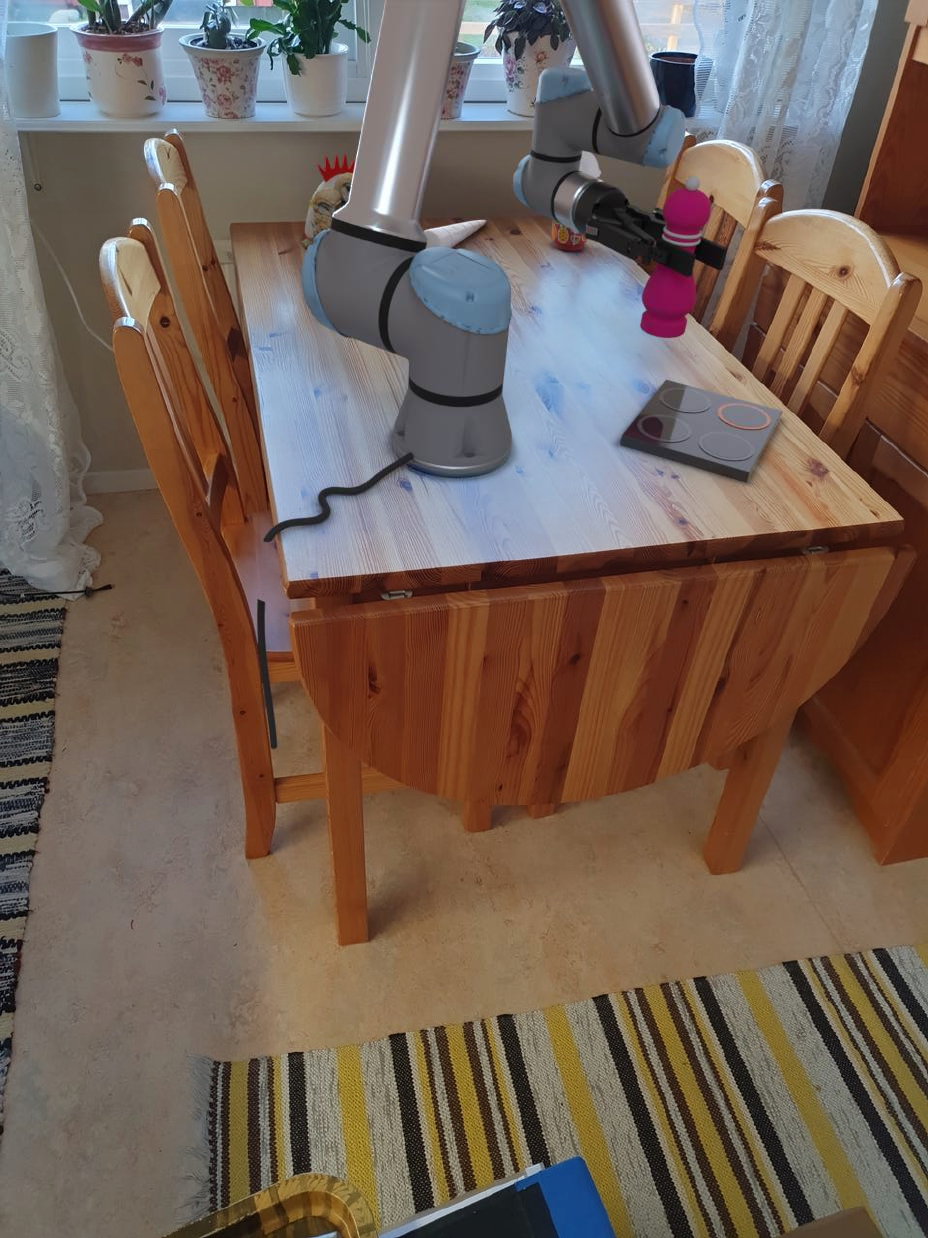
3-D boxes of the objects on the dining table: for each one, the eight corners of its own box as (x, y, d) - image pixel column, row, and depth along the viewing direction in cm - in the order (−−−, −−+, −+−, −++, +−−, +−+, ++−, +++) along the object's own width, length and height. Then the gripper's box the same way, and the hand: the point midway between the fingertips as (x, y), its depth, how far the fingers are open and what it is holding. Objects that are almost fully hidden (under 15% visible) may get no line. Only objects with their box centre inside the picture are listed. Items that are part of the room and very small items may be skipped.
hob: (746, 482, 116) (750, 471, 115) (619, 444, 121) (622, 434, 120) (779, 420, 129) (782, 410, 128) (663, 388, 135) (666, 378, 134)
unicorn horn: (502, 227, 184) (504, 202, 180) (439, 261, 168) (440, 234, 165) (482, 222, 185) (483, 197, 182) (417, 255, 170) (417, 228, 166)
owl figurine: (314, 299, 151) (309, 189, 140) (293, 273, 159) (286, 167, 148) (415, 287, 158) (418, 181, 147) (390, 263, 166) (391, 160, 155)
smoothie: (540, 239, 180) (553, 126, 167) (579, 237, 182) (595, 125, 169) (556, 254, 174) (570, 138, 161) (596, 252, 176) (614, 138, 163)
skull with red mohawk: (298, 230, 175) (293, 144, 166) (368, 226, 180) (367, 142, 170) (315, 256, 166) (311, 167, 156) (388, 251, 170) (389, 164, 160)
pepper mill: (626, 321, 130) (654, 169, 117) (668, 315, 132) (700, 166, 119) (655, 343, 125) (687, 186, 112) (698, 336, 128) (734, 182, 115)
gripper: (634, 226, 139) (748, 280, 125) (539, 243, 131) (649, 302, 117) (644, 173, 134) (763, 223, 120) (546, 187, 126) (661, 242, 112)
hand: (707, 262), depth 118 cm, fingers closed on pepper mill, 5 cm apart
